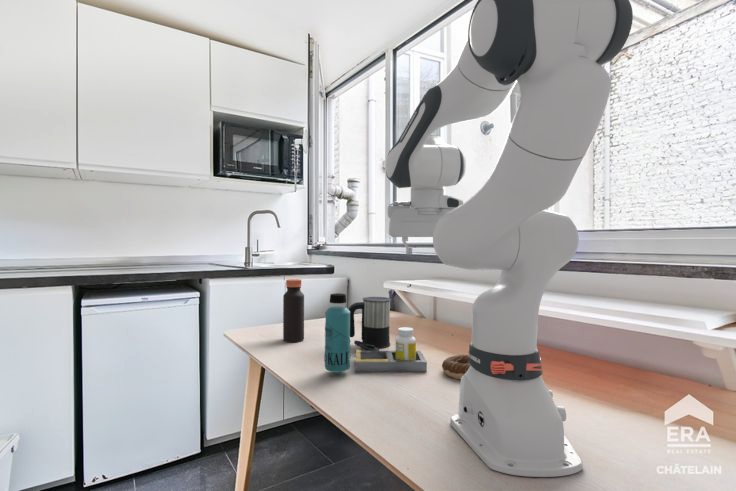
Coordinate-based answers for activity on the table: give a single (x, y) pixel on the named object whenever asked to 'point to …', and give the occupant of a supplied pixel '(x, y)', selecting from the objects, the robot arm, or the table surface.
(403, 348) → the supplement bottle
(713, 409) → the table surface
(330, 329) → the beverage bottle
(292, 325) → the vinegar
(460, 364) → the donut
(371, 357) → the grey compartment tray
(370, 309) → the milk frother
